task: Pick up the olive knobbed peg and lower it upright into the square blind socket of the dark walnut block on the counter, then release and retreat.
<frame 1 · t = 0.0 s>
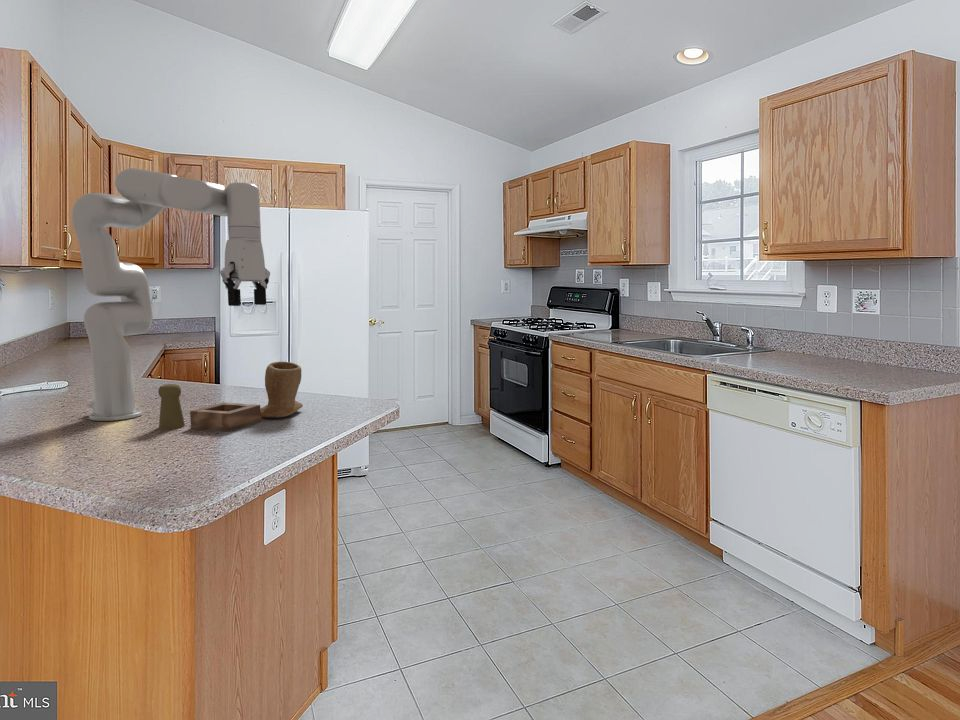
hand: (247, 305, 153), 31 cm above the countertop, fingers open, 9 cm apart
olive knobbed peg: (172, 427, 158), on the countertop
socket block: (226, 424, 161), on the countertop
stone cup: (283, 415, 173), on the countertop
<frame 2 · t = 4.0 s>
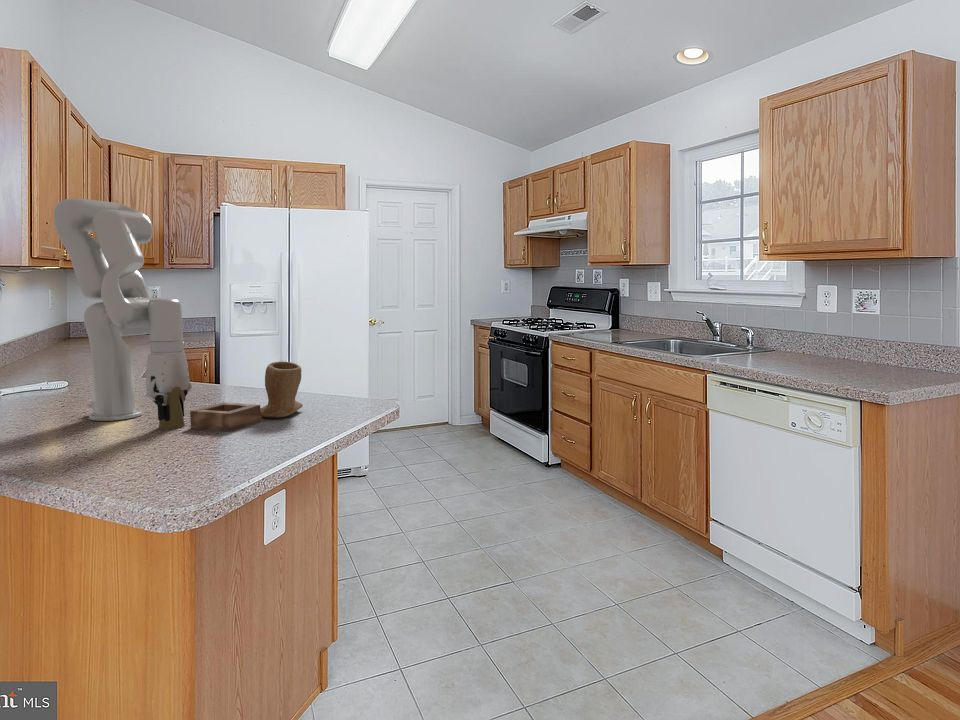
hand: (171, 417, 158), 2 cm above the countertop, fingers closed on olive knobbed peg, 4 cm apart
olive knobbed peg: (172, 427, 158), on the countertop, touching gripper
everything else where it was.
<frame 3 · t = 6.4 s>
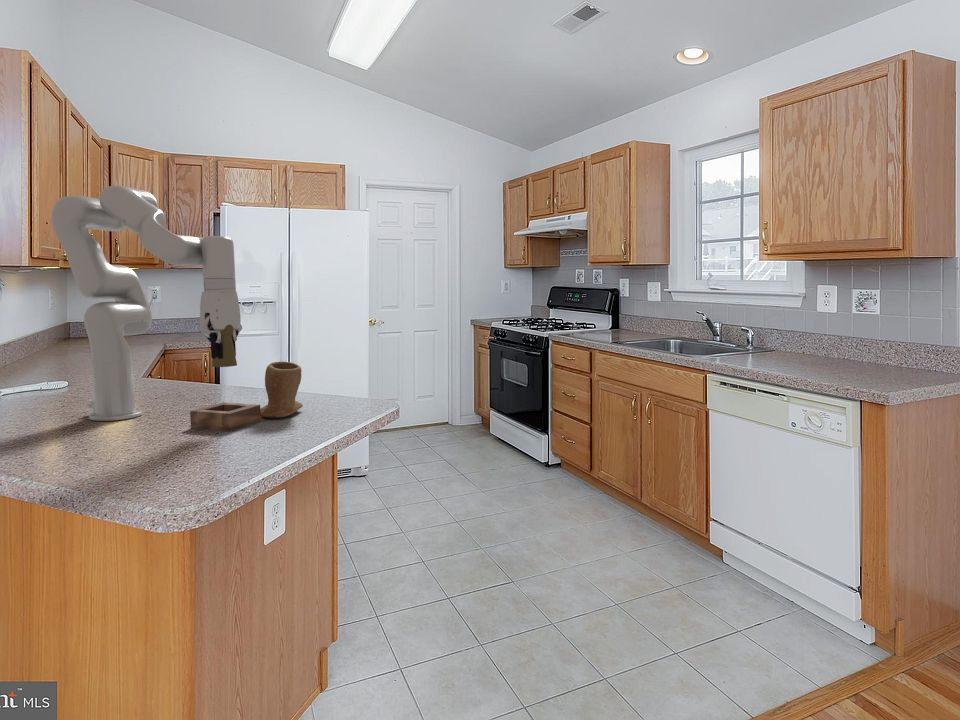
hand: (223, 356, 158), 18 cm above the countertop, fingers closed on olive knobbed peg, 4 cm apart
olive knobbed peg: (224, 366, 159), point 15 cm above the countertop, touching gripper
everything else where it was.
when the fingers open (5 cm above the countertop, at t = 9.2 s): olive knobbed peg drops 2 cm, resting on socket block.
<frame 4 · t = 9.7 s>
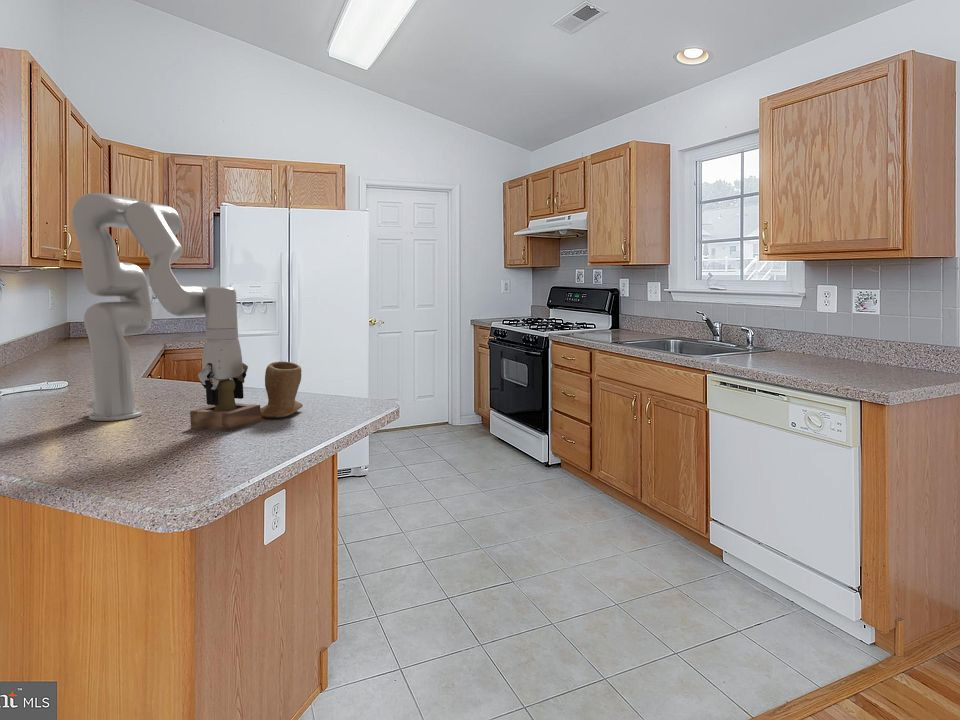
hand: (225, 401, 160), 6 cm above the countertop, fingers open, 9 cm apart
olive knobbed peg: (226, 421, 160), point 1 cm above the countertop, touching socket block
everything else where it was.
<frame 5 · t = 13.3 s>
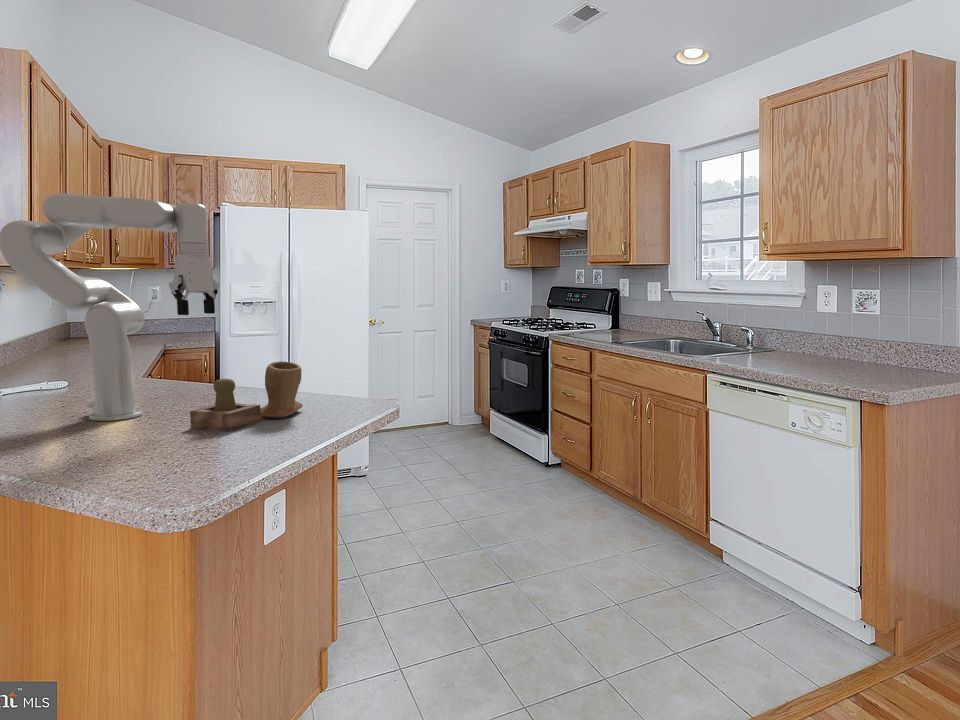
hand: (196, 314, 168), 28 cm above the countertop, fingers open, 9 cm apart
nothing on the countertop moved.
at the end: olive knobbed peg 0.2 cm off-centre on the socket block, point 0.8 cm above the socket block's base; olive knobbed peg tilted 0°; the gripper is holding nothing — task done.
